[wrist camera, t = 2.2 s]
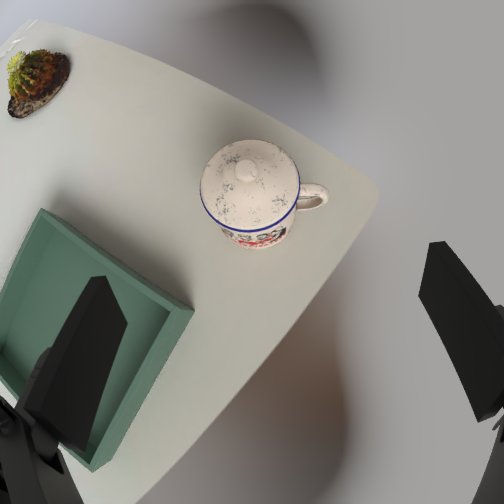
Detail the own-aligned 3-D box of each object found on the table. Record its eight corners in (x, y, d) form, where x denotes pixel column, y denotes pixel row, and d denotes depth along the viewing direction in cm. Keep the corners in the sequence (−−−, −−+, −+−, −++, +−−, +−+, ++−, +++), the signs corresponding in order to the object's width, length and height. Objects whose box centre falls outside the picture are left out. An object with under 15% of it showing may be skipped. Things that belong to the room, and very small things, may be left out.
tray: (195, 311, 35) (181, 309, 31) (111, 459, 32) (92, 472, 28) (62, 218, 40) (40, 207, 35) (2, 353, 37) (-20, 353, 32)
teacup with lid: (216, 252, 37) (186, 222, 25) (219, 178, 38) (195, 125, 27) (324, 252, 35) (342, 220, 24) (320, 176, 37) (332, 121, 26)
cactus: (0, 111, 48) (-27, 89, 38) (44, 54, 50) (22, 29, 40) (34, 128, 45) (2, 101, 35) (86, 60, 47) (63, 28, 37)
